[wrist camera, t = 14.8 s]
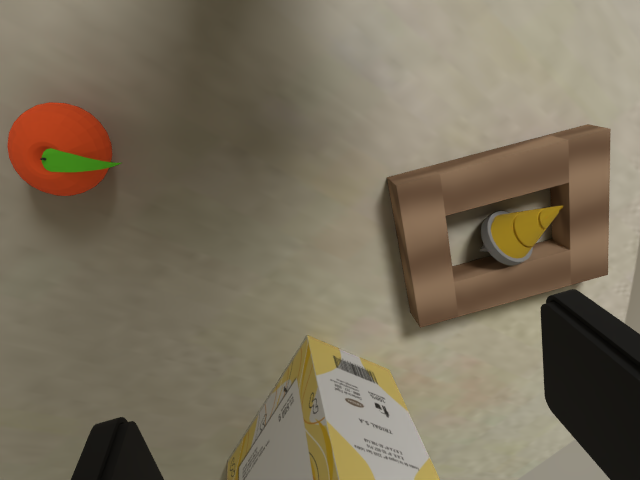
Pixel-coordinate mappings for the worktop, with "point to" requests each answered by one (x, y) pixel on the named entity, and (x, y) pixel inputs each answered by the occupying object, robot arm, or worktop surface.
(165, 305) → the worktop surface
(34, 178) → the clementine
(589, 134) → the walnut socket block
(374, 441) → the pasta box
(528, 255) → the yellow stepped cone
